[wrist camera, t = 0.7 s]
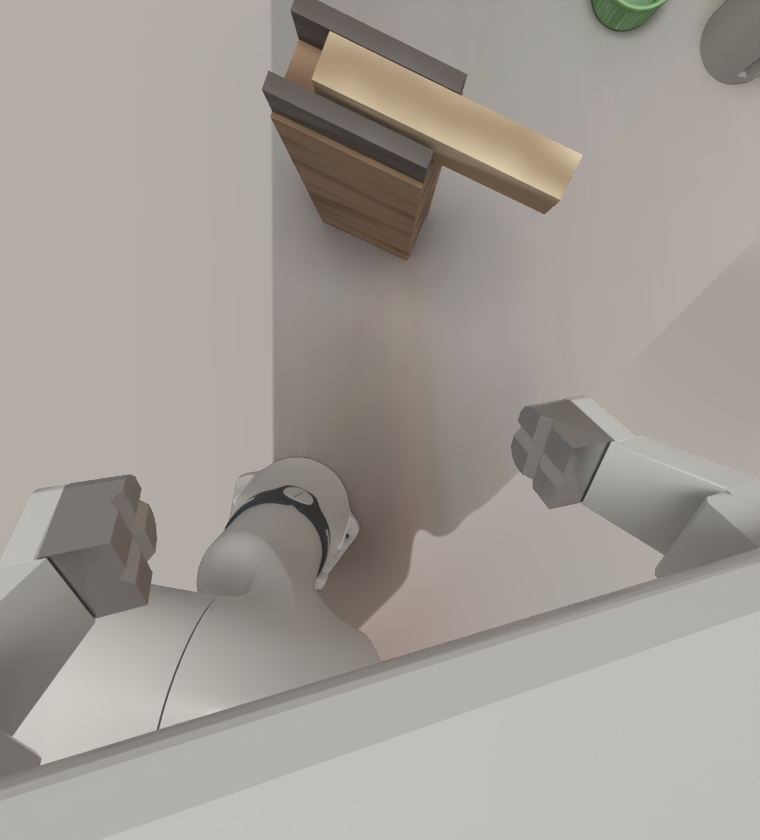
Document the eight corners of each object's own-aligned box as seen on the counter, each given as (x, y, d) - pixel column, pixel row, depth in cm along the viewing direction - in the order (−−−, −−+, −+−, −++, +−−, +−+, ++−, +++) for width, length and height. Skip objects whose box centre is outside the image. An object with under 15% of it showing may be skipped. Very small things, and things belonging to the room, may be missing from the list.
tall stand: (406, 260, 56) (424, 174, 29) (322, 220, 56) (259, 95, 28) (429, 208, 55) (470, 68, 28) (344, 167, 54) (300, -17, 27)
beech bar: (544, 214, 31) (560, 200, 28) (318, 105, 30) (311, 79, 28) (563, 174, 31) (582, 155, 28) (335, 62, 30) (329, 30, 27)
